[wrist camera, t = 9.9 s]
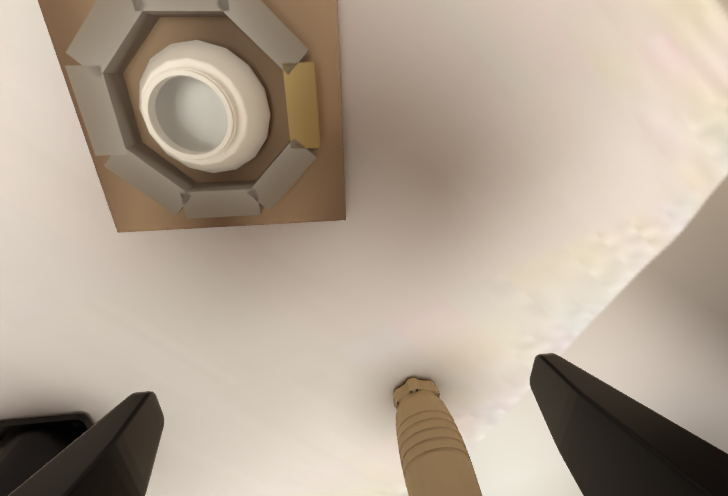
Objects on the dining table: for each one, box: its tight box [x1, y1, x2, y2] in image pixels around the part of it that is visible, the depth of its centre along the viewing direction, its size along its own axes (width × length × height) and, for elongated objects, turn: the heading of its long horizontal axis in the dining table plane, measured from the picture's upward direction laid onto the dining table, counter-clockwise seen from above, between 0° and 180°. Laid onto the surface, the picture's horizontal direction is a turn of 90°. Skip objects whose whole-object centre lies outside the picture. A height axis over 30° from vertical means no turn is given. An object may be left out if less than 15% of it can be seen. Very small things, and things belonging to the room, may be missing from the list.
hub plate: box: [38, 0, 346, 232], centre depth 15 cm, size 11×11×3 cm
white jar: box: [139, 40, 271, 173], centre depth 14 cm, size 5×3×5 cm
